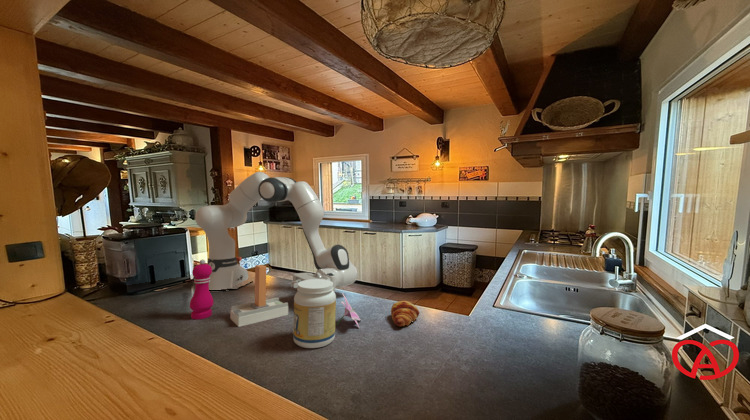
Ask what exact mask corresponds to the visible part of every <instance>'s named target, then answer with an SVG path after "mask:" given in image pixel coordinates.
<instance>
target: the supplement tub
mask: <svg viewBox="0 0 750 420" xmlns="http://www.w3.org/2000/svg"><path fill="white" fill-rule="evenodd" d="M296 290H297V291H296V293H295V294H294V297H293V334H292V337H293V342H294V343H295V345H297V346H299V347H300V348H305V349H318V348H322V347H325V346H328V345H330V344H331V343H332V342H333V341H334V340H335V337H336V314H337V313H336V311H337V310H336V309H337V307H336V306H337V294H336V293H335V292H336V291H335V292H334V291H333V282H332V281H329V280H325V279H310V280H304V281H301V282H299V283H298V288H296Z"/></svg>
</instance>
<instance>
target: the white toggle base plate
mask: <svg viewBox="0 0 750 420" xmlns="http://www.w3.org/2000/svg"><path fill="white" fill-rule="evenodd" d="M251 303H255V301H252V302H247V303H243V304H239V305H232V306H230V317H229V318H230V320H231V321H232V322H233V323H234V324H235V325H236V326H237V327H238V328H239V327H243V326H244V327H245V326H247V325H252V324H256V323H261V322H264V321H268V320H272V319H276V318H277V319H278V318H279V317H285V316H288V315H289V303H288V302H282V301H280V297H279V296H278V297H272V298H266V304H267V305H269V306H268V307H263V308H259V309H254V308H253V307H252V306H251Z"/></svg>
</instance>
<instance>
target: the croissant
mask: <svg viewBox="0 0 750 420" xmlns="http://www.w3.org/2000/svg"><path fill="white" fill-rule="evenodd" d="M390 315H391V319H392V321H393V323H394V324H395V325H396V326H398V327H406V326H405V325H407V326H410V325H411V324H412V323H411V322H412V321H414V322H415V320H416V319H417V318H419V316H420V310H419V308H418V307H417V306H416V305H414V304H413V303H412V302H410V301H407V300H399V301H397V302H395V303H393V304H392V306H391V310H390ZM410 323H411V324H410ZM409 324H410V325H409Z"/></svg>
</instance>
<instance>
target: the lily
mask: <svg viewBox="0 0 750 420" xmlns="http://www.w3.org/2000/svg"><path fill="white" fill-rule="evenodd" d="M341 294H342V295H343V298H344V301H345V302H344V301H340V302H341V303H342V304H343V306H344V314H343V315H342V317H340V319H339V320H338V322H337V323H336V326H339V324H340V322H341V321H342V320H343V318H344V317H347V318H351V319H352V320H354V322H355V324H356V325H357V327H358V328H360V326H359V323H358V321H360V320H361V319H360V317H359V315H358V314H357V313H356V312H355V310H356V308H352V305H351V304H350V303H349V300H348V299H347V297H346V296H345V294H344V293H343V292H341Z"/></svg>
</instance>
